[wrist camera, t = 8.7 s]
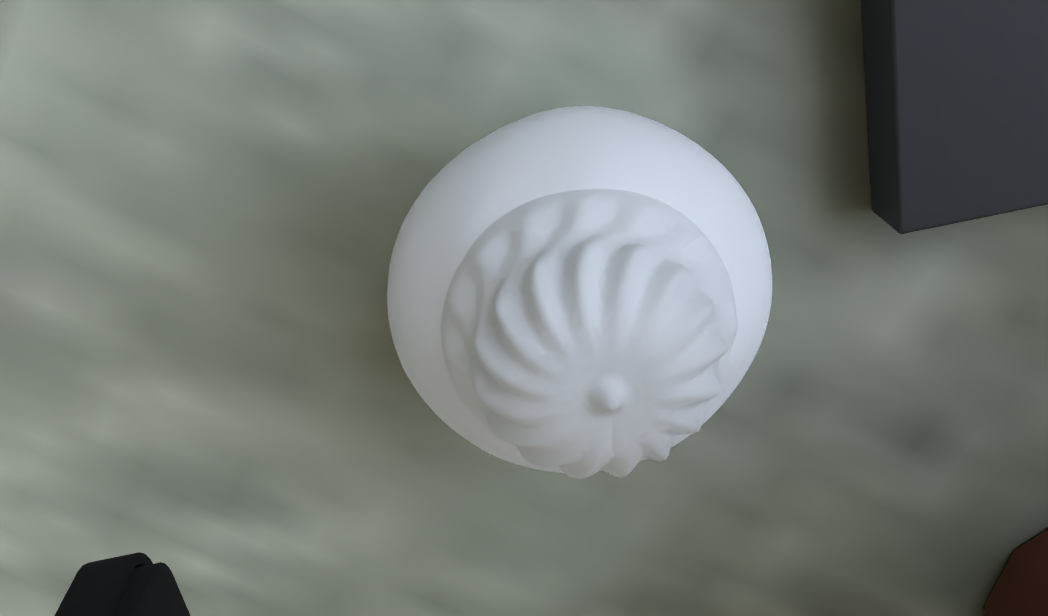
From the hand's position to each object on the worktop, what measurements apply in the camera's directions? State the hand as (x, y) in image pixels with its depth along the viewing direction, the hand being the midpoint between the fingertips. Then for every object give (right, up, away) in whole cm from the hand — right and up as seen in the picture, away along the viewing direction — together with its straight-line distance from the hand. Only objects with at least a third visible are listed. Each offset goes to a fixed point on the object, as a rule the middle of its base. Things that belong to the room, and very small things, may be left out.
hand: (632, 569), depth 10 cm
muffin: (0, +4, +9) cm, 10 cm away
